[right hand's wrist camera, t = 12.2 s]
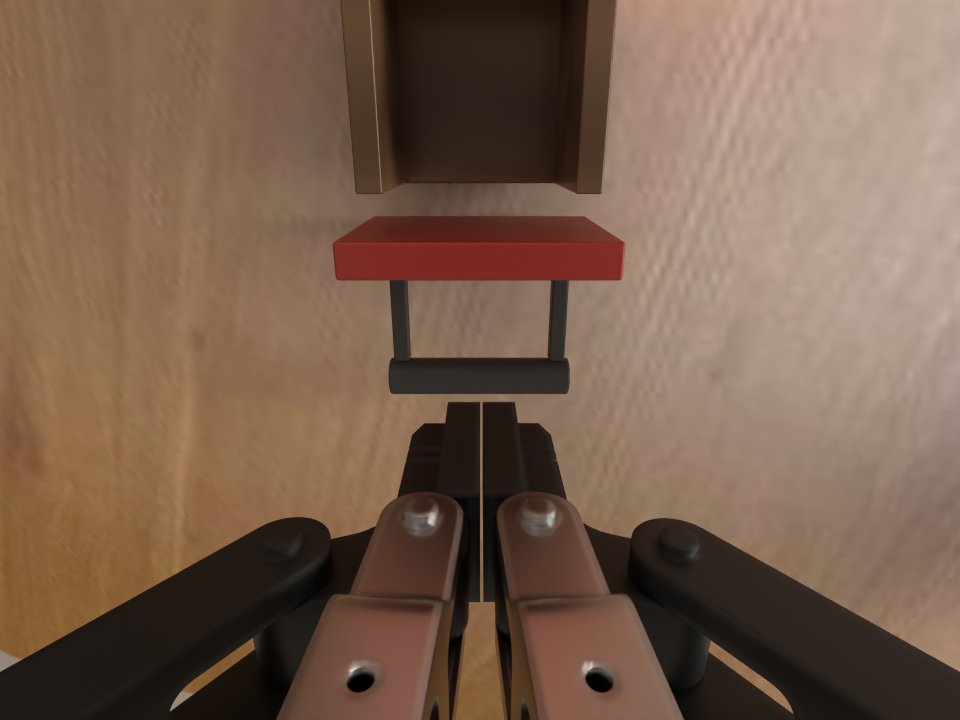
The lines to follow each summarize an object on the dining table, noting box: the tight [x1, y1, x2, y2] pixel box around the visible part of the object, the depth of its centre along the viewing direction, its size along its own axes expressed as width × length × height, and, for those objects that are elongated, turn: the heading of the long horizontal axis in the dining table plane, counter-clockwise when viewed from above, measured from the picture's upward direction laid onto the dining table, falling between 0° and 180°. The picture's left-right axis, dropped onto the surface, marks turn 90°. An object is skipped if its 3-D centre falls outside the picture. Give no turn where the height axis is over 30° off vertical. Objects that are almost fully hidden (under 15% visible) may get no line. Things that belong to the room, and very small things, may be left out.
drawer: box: [333, 0, 625, 394], centre depth 18 cm, size 23×9×7 cm, turn 0°
